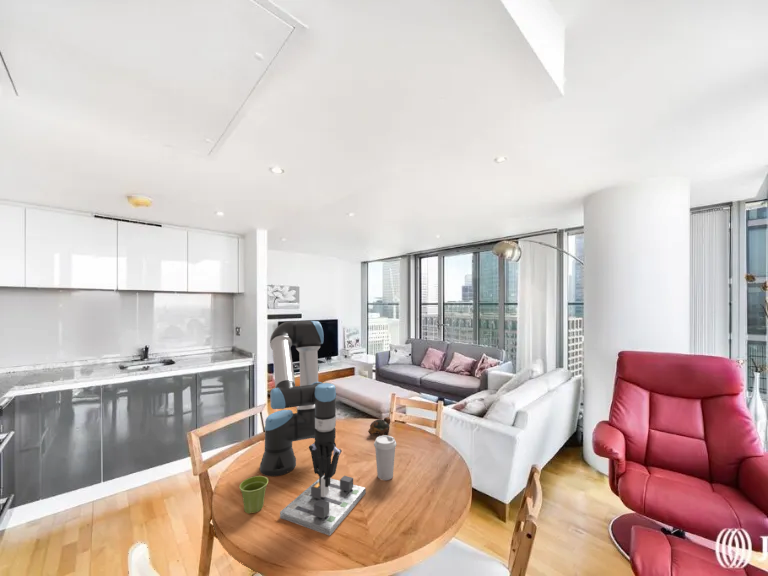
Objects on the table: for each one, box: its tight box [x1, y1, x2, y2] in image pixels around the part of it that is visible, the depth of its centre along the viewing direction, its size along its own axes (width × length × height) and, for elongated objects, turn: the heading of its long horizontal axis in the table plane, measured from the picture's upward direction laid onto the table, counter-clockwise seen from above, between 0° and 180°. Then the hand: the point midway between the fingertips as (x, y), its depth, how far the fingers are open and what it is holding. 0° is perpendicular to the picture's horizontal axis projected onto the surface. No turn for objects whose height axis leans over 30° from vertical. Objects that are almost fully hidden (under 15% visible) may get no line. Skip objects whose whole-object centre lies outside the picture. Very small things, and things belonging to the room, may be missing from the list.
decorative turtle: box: [367, 416, 391, 436], centre depth 173 cm, size 10×15×8 cm, turn 137°
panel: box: [279, 477, 367, 537], centre depth 112 cm, size 20×24×2 cm
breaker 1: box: [310, 481, 322, 499], centre depth 114 cm, size 4×3×4 cm
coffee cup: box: [373, 435, 397, 481], centre depth 131 cm, size 10×10×15 cm
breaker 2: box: [314, 499, 329, 519], centre depth 103 cm, size 4×3×4 cm
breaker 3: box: [339, 475, 354, 492], centre depth 118 cm, size 4×3×4 cm
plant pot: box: [238, 475, 269, 515], centre depth 110 cm, size 9×9×9 cm
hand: (324, 494), depth 112 cm, fingers closed
